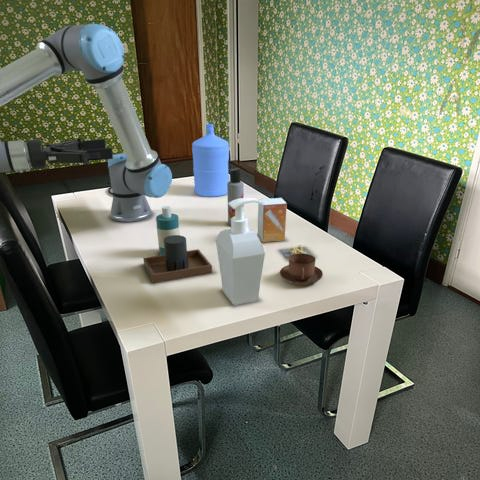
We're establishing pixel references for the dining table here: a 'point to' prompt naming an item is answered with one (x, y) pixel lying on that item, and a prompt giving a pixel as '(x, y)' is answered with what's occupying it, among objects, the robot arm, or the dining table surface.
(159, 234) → the capped bottle
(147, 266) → the tray
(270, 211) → the small box
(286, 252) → the dice set
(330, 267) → the dining table surface
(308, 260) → the cup and saucer
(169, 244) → the cap
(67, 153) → the robot arm
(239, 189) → the lotion bottle
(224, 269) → the soap bottle
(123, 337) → the dining table surface
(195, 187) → the water jug
